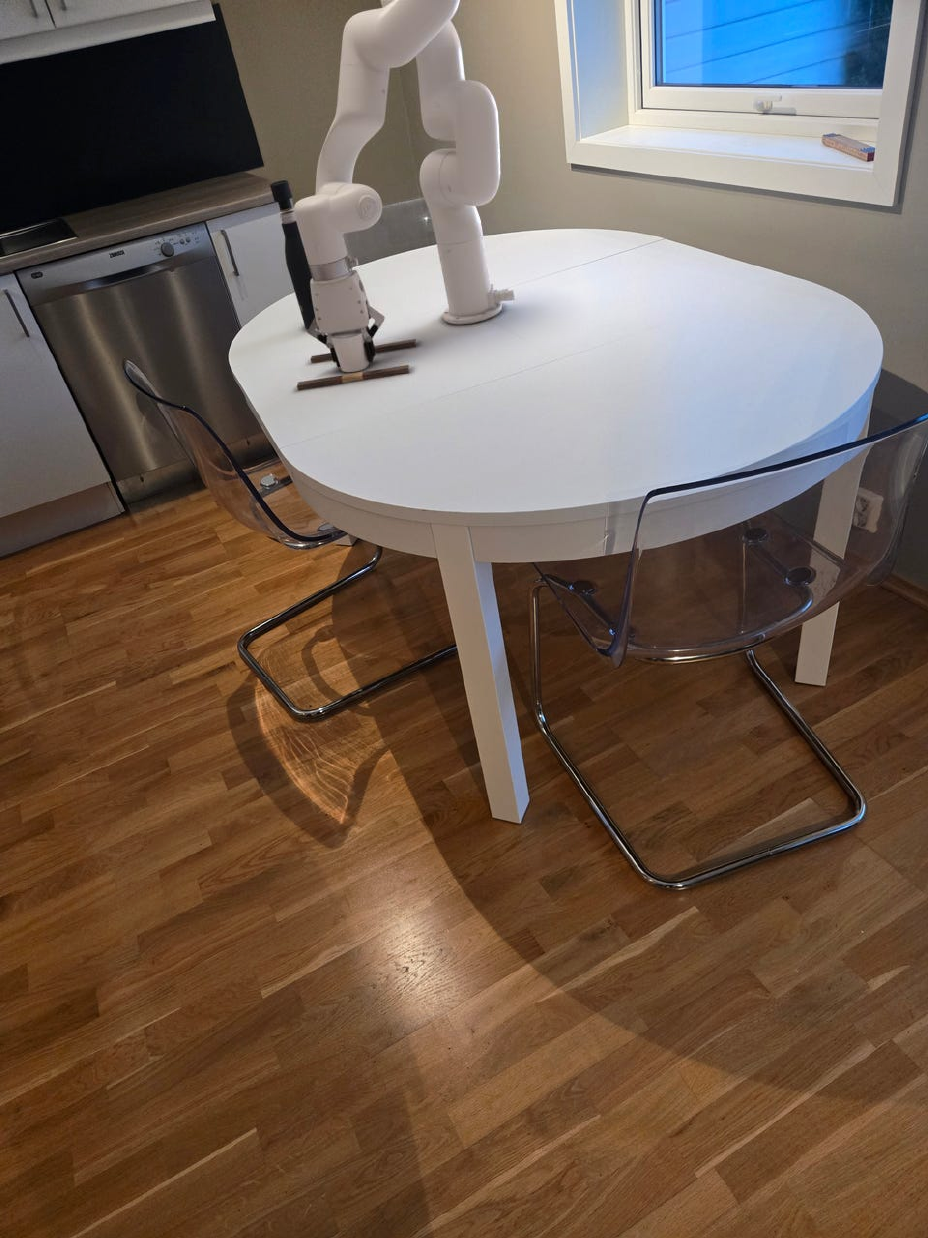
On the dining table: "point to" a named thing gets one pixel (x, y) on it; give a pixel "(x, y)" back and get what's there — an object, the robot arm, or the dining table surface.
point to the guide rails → (360, 375)
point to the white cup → (350, 350)
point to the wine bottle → (295, 252)
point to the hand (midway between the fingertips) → (355, 361)
